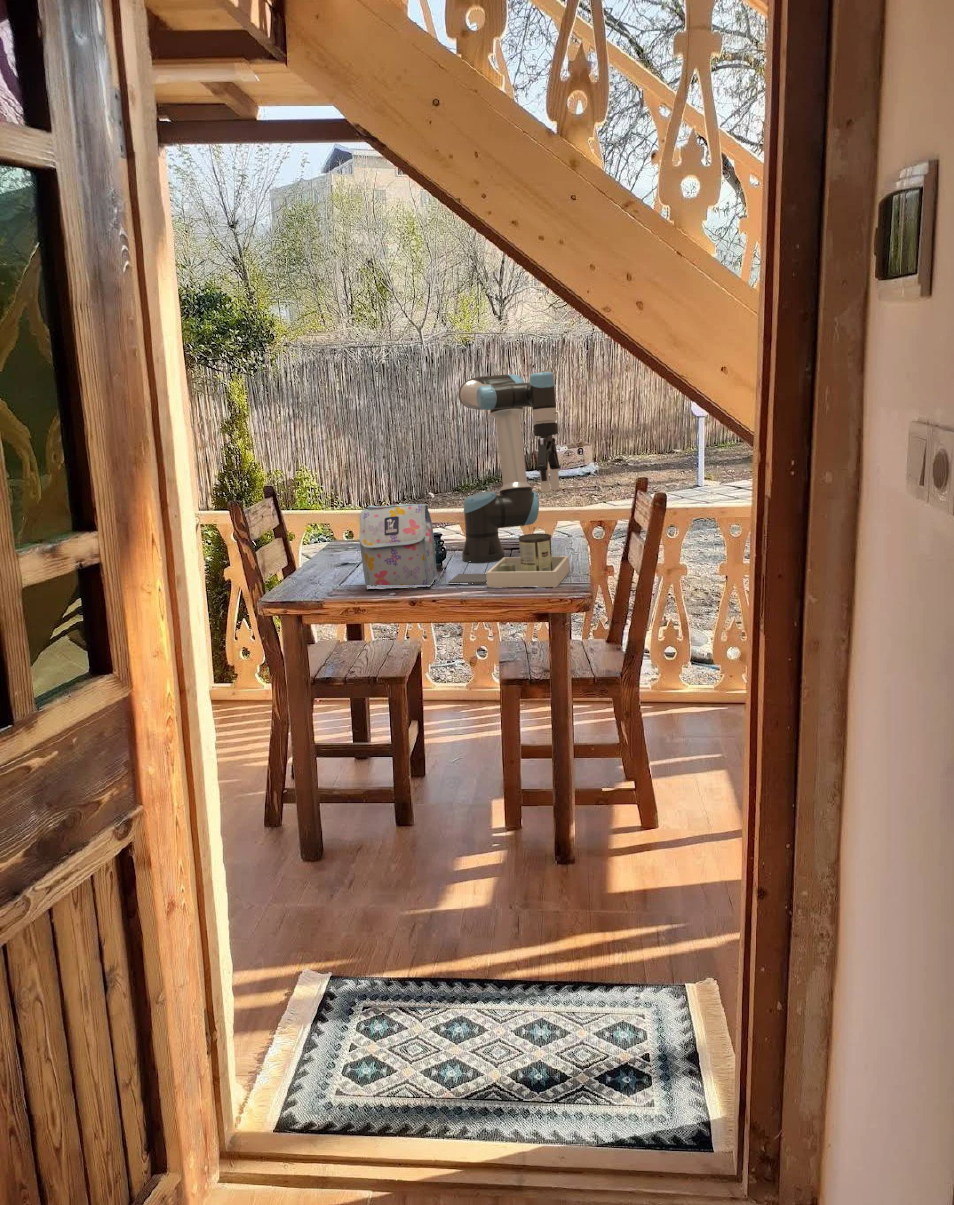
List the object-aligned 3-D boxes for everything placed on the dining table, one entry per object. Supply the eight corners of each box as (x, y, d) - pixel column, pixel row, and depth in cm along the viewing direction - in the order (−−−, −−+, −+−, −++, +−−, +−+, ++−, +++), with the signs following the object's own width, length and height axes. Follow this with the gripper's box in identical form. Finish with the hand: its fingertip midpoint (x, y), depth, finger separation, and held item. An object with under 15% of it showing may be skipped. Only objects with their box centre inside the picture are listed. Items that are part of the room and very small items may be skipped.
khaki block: (500, 581, 332) (499, 566, 331) (503, 578, 336) (502, 563, 335) (512, 581, 331) (511, 565, 330) (515, 578, 335) (514, 563, 334)
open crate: (487, 588, 323) (486, 572, 322) (504, 571, 346) (503, 557, 345) (556, 587, 318) (555, 571, 316) (569, 571, 340) (568, 556, 339)
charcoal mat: (448, 584, 332) (448, 581, 331) (458, 576, 343) (458, 573, 343) (484, 584, 328) (484, 581, 328) (493, 576, 340) (493, 573, 340)
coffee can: (530, 575, 338) (527, 532, 335) (558, 576, 333) (556, 533, 330) (515, 582, 329) (512, 538, 326) (544, 583, 324) (541, 539, 321)
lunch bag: (360, 593, 328) (352, 510, 322) (372, 581, 345) (365, 502, 338) (429, 591, 325) (423, 507, 319) (439, 579, 341) (433, 499, 335)
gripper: (547, 421, 311) (553, 491, 313) (565, 422, 334) (570, 487, 337) (523, 423, 313) (529, 493, 316) (542, 424, 336) (547, 489, 339)
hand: (550, 490), depth 326 cm, fingers open, 13 cm apart
